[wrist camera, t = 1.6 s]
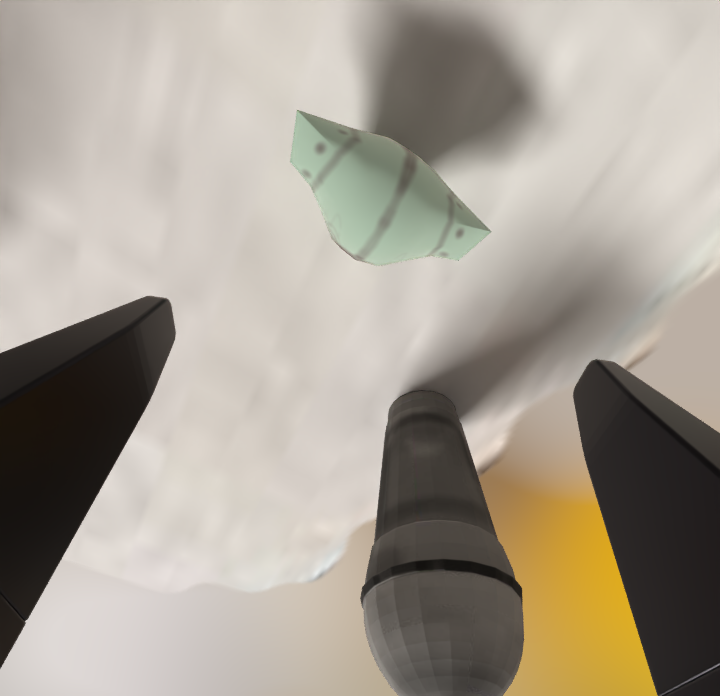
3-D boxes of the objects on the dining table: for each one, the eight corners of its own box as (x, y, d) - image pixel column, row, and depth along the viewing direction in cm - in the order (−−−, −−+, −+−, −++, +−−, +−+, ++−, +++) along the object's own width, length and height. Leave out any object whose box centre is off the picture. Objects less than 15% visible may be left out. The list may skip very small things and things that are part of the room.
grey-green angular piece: (480, 179, 19) (518, 238, 14) (427, 251, 22) (442, 327, 16) (322, 74, 17) (295, 97, 12) (282, 166, 19) (243, 221, 14)
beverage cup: (432, 463, 32) (483, 911, 16) (347, 425, 30) (306, 897, 14) (501, 404, 28) (661, 920, 12) (408, 356, 26) (452, 902, 10)
